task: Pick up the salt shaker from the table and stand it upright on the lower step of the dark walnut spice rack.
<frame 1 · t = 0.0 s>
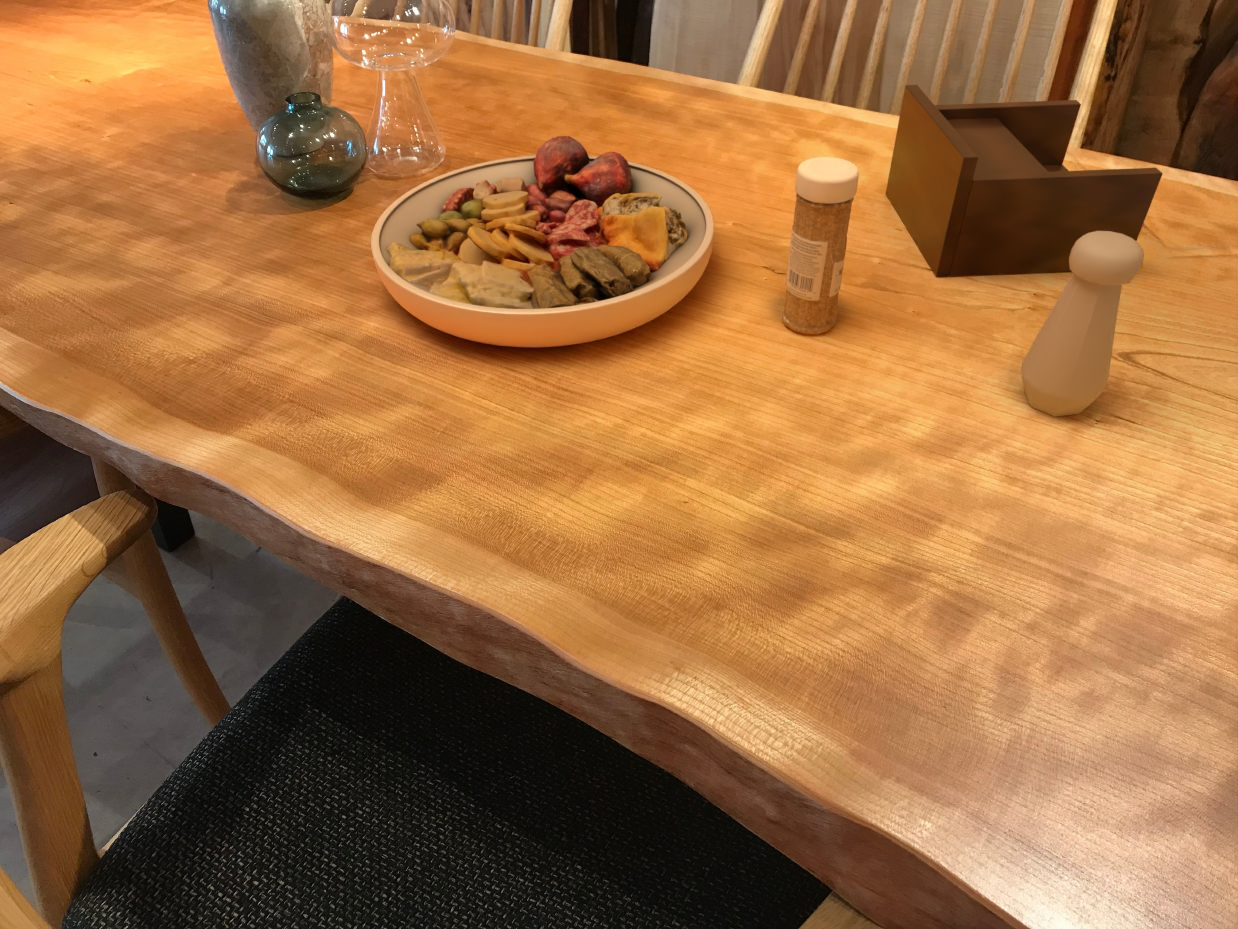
bowl: (547, 274, 84), on the table
salt shaker: (1053, 402, 68), on the table
spice rack: (1003, 228, 88), on the table
sprinkles bottle: (807, 323, 77), on the table
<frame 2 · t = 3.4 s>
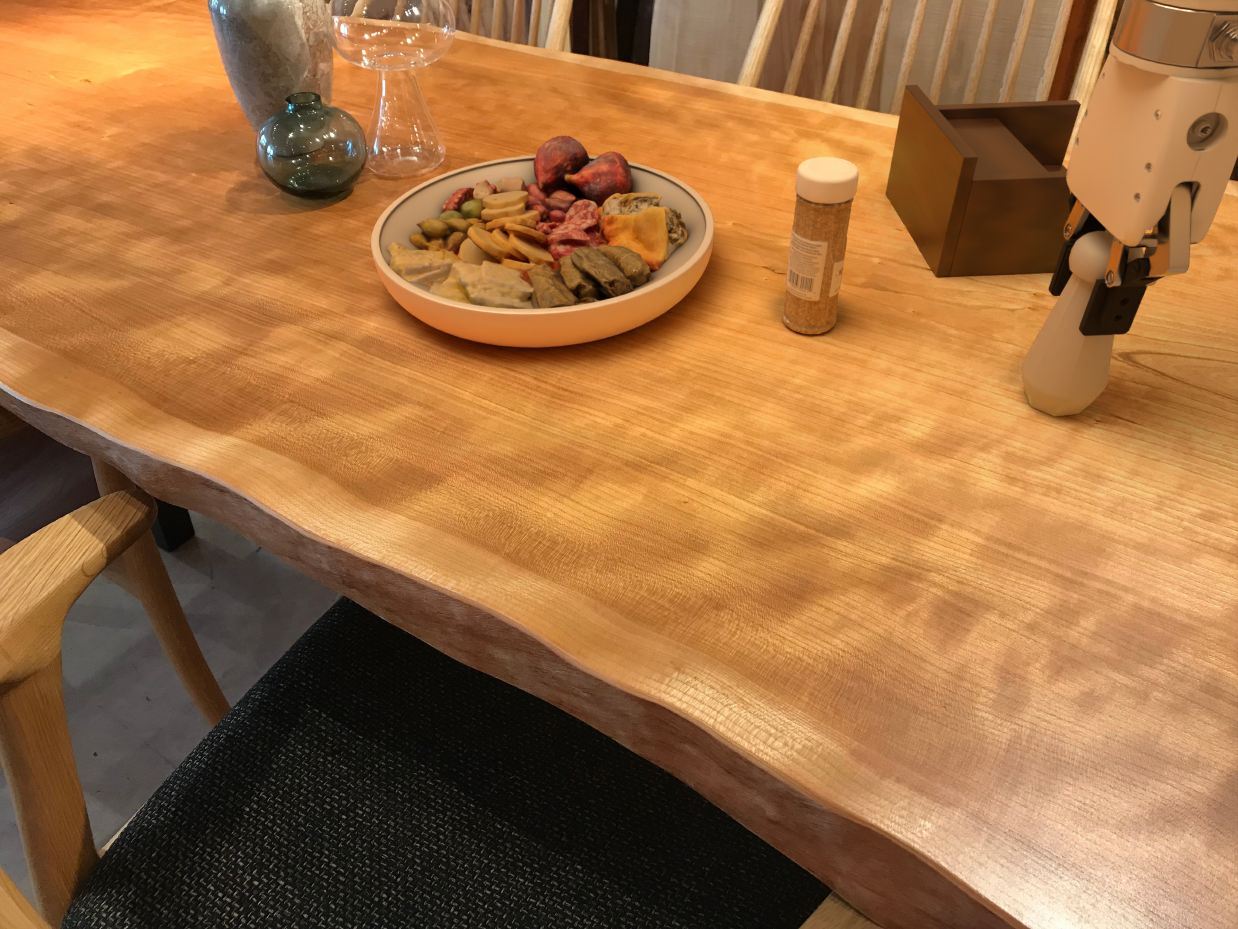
hand: (1086, 310, 63), 8 cm above the table, tool pointing down, fingers closed on salt shaker, 4 cm apart
salt shaker: (1053, 402, 68), on the table, touching gripper
everything else where it was.
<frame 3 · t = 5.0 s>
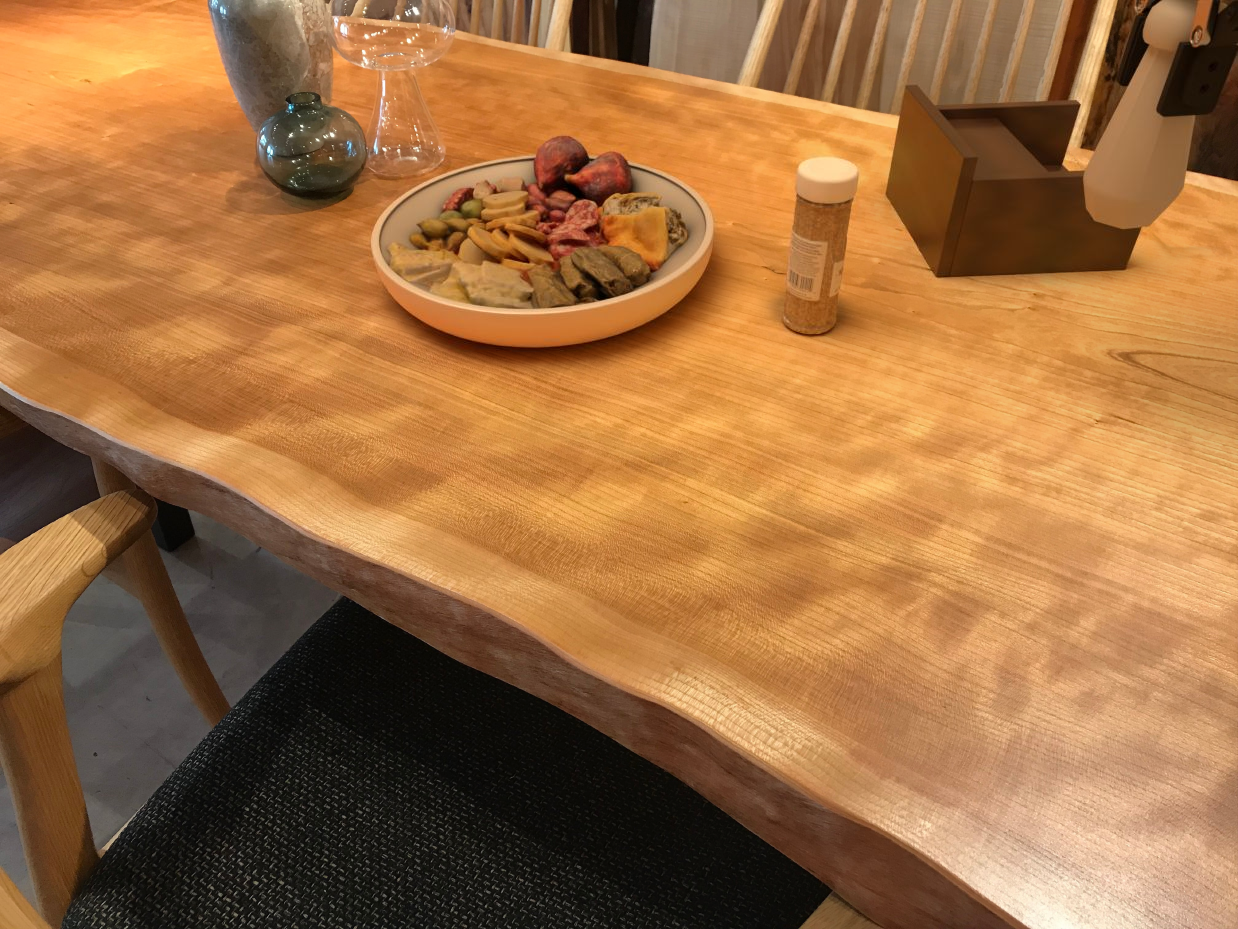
hand: (1162, 94, 55), 22 cm above the table, tool pointing down, fingers closed on salt shaker, 4 cm apart
salt shaker: (1119, 217, 60), point 14 cm above the table, touching gripper
everything else where it was.
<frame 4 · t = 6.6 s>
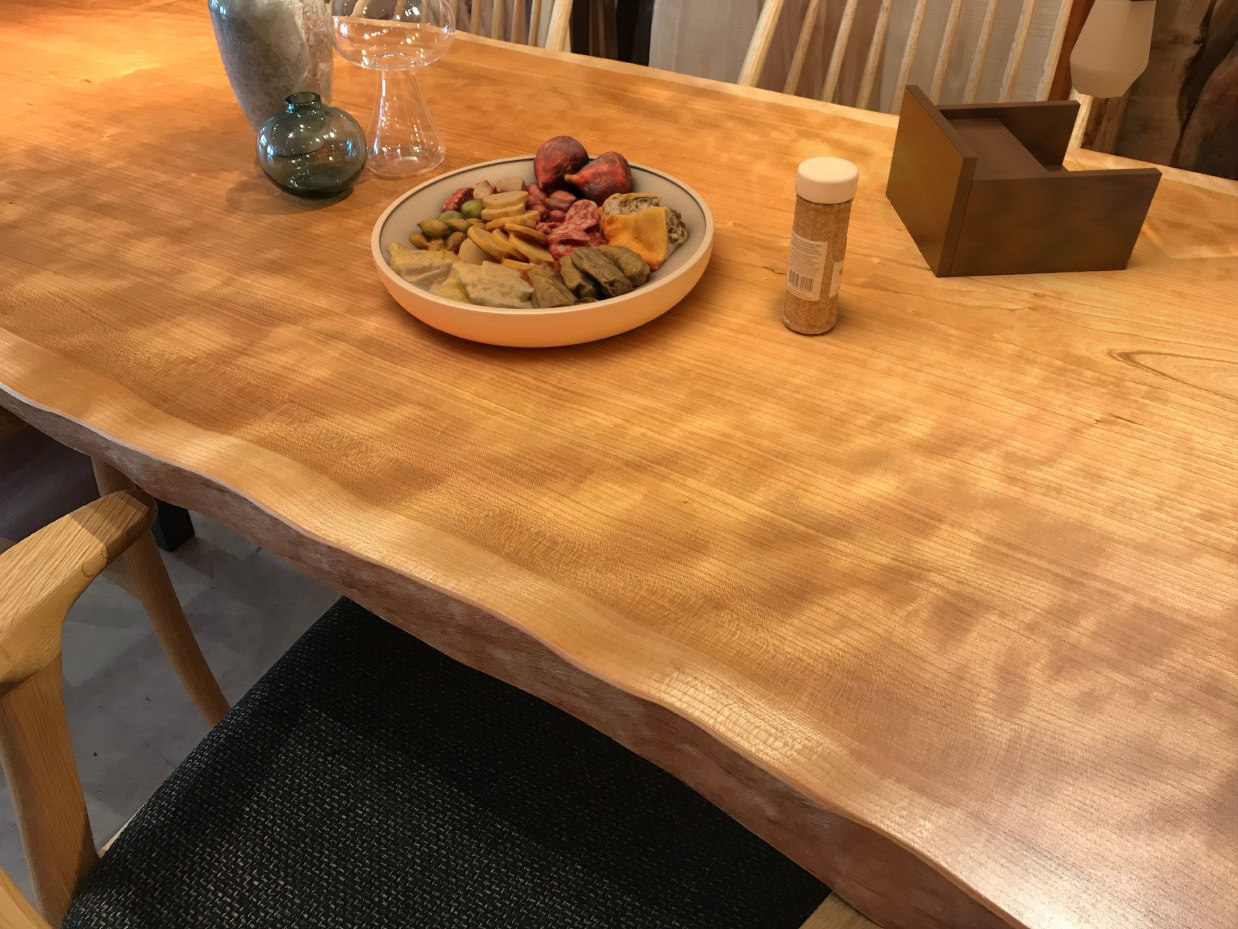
salt shaker: (1098, 91, 76), point 14 cm above the table, touching gripper
everything else where it was.
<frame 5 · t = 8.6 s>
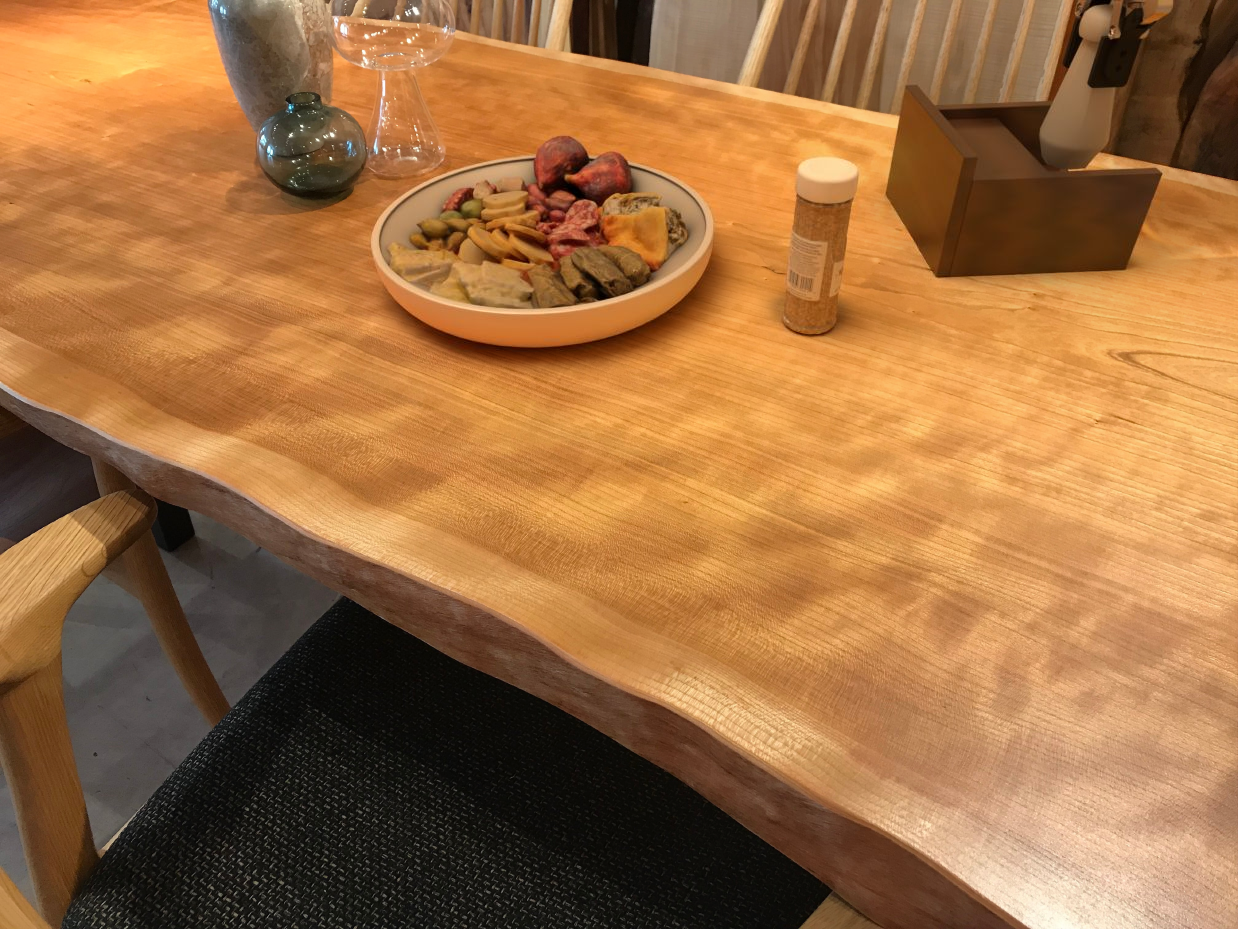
hand: (1093, 73, 79), 14 cm above the table, tool pointing down, fingers closed on salt shaker, 4 cm apart
salt shaker: (1064, 162, 84), point 6 cm above the table, touching gripper
everything else where it was.
when the fingers open (11 cm above the table, at t = 9.9 s): salt shaker stays where it is, resting on spice rack.
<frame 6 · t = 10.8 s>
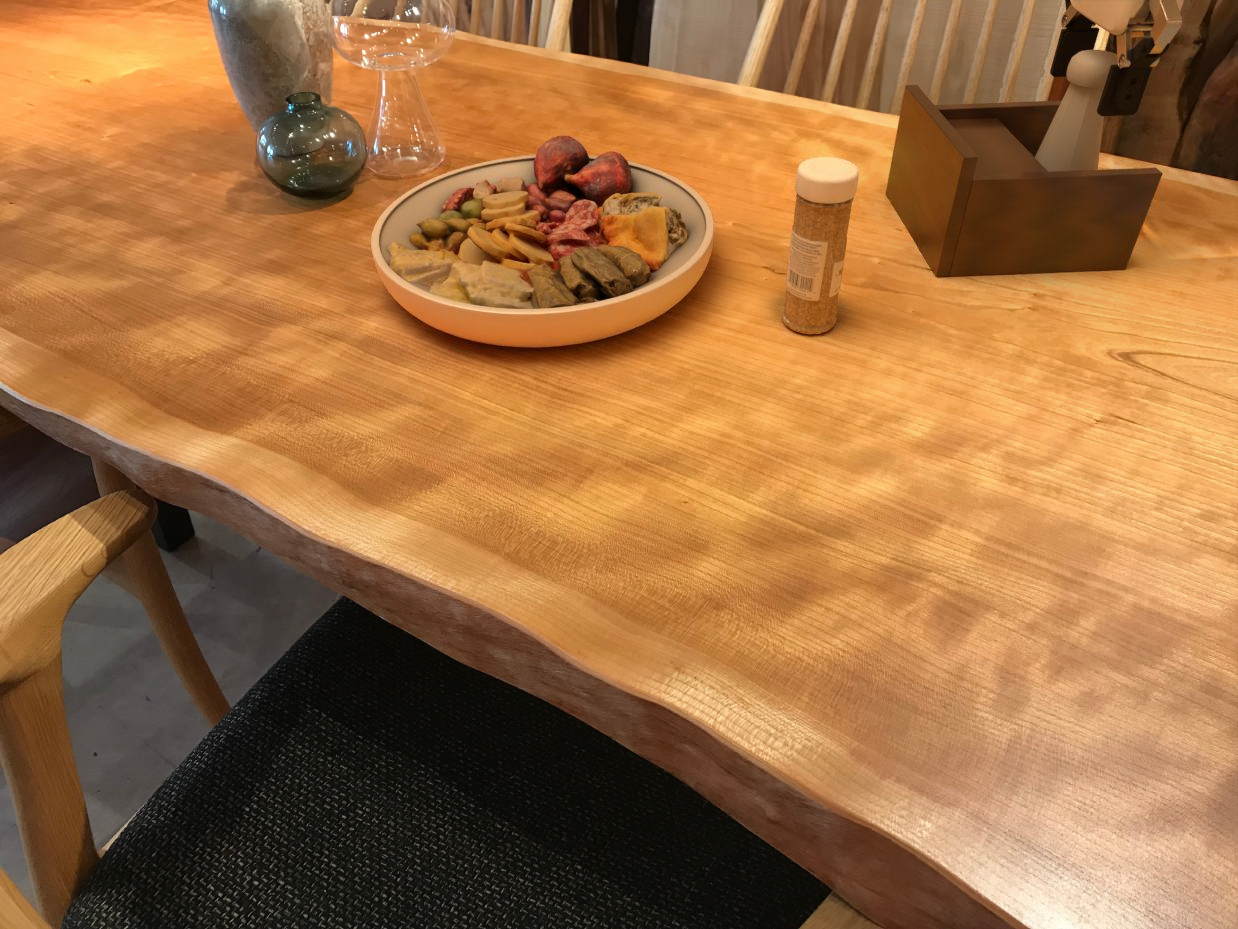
hand: (1090, 93, 80), 13 cm above the table, tool pointing down, fingers open, 9 cm apart
salt shaker: (1054, 199, 86), point 3 cm above the table, touching spice rack
everything else where it was.
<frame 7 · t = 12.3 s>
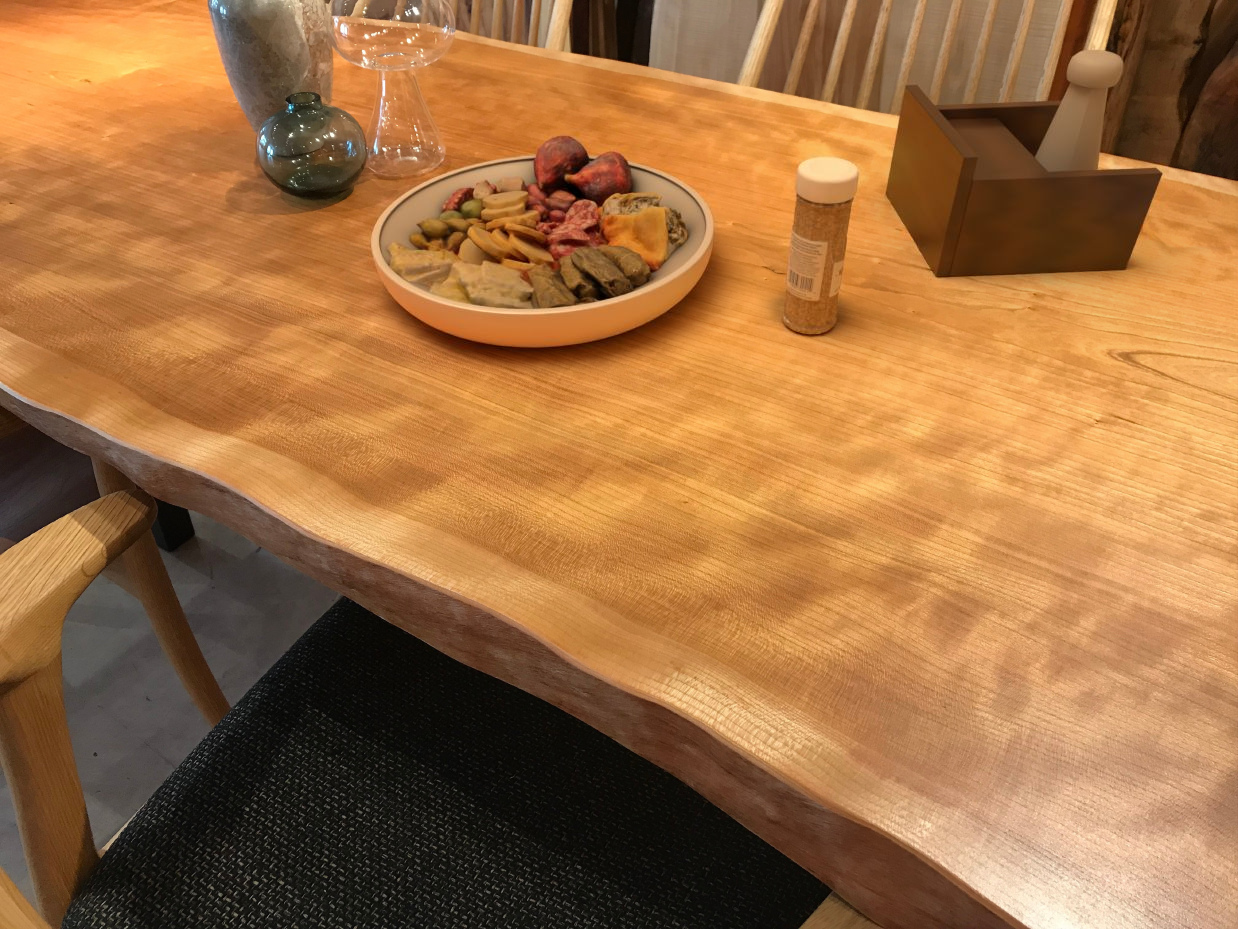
nothing on the table moved.
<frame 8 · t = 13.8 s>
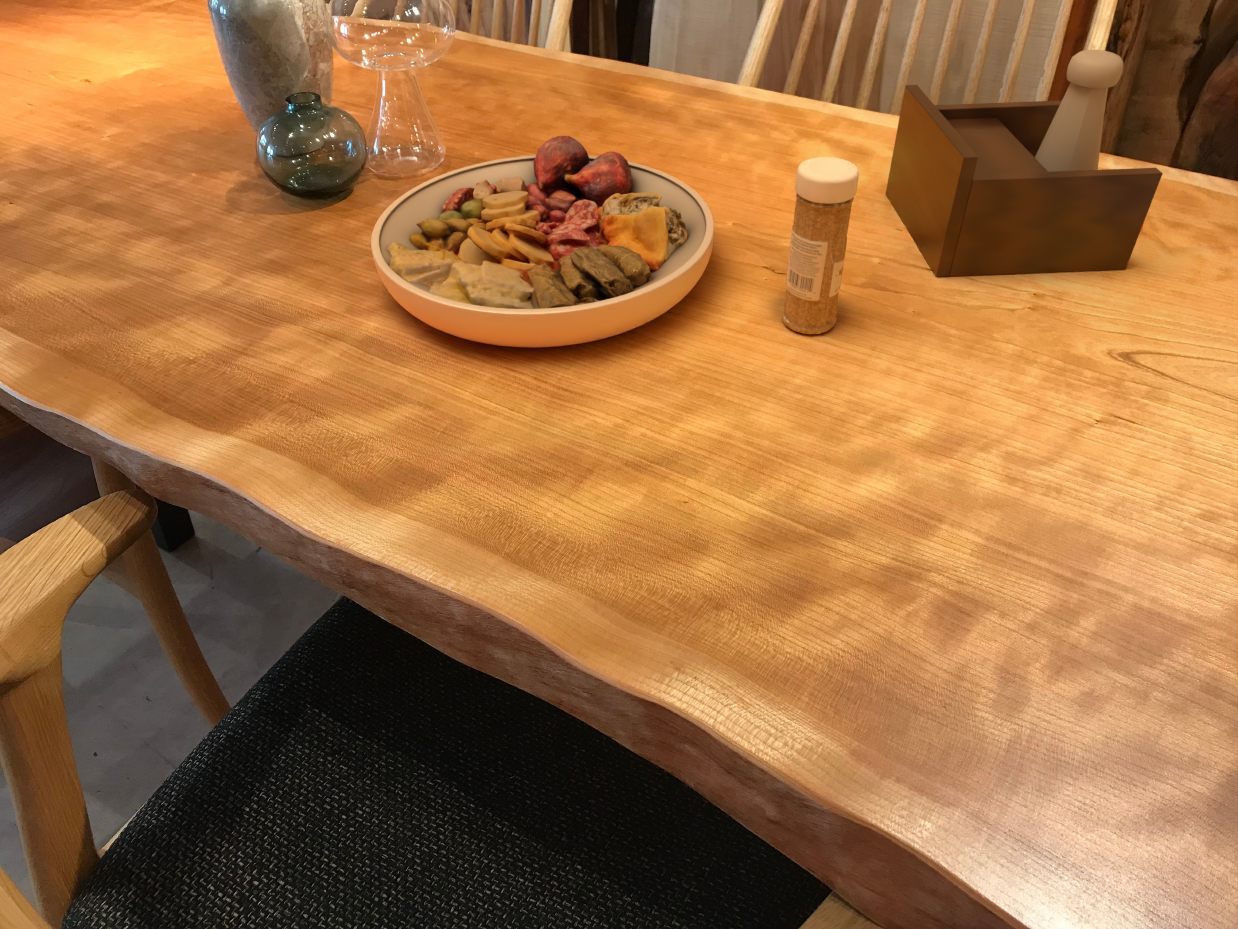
nothing on the table moved.
at the end: salt shaker inside the target area on the spice rack (0.2 cm from its centre), point 2.8 cm above the spice rack's base; salt shaker tilted 0° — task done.
